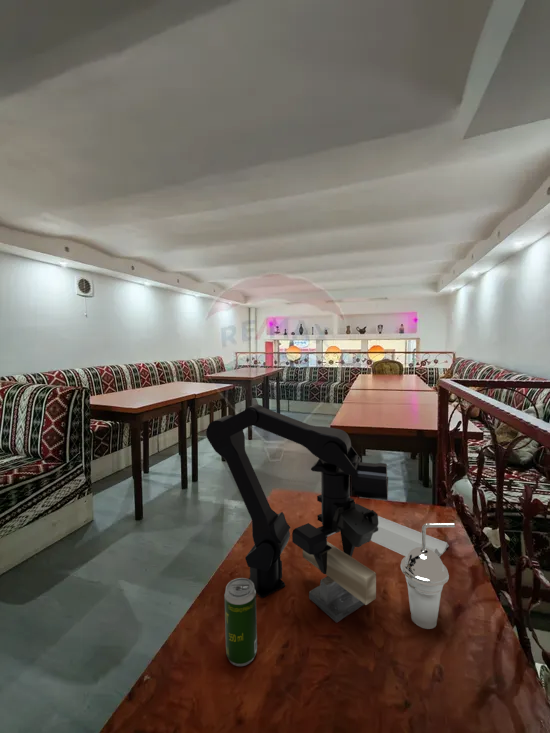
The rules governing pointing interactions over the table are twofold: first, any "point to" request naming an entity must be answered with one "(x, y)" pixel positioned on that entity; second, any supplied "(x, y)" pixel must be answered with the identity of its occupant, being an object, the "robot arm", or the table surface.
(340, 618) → the fulcrum
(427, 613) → the cup with straw
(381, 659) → the table surface
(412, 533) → the crown molding
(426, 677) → the table surface
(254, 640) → the beer can
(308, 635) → the table surface
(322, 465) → the robot arm
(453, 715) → the table surface
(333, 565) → the batten
